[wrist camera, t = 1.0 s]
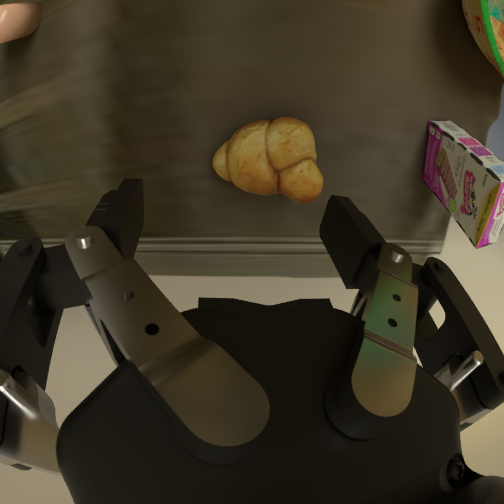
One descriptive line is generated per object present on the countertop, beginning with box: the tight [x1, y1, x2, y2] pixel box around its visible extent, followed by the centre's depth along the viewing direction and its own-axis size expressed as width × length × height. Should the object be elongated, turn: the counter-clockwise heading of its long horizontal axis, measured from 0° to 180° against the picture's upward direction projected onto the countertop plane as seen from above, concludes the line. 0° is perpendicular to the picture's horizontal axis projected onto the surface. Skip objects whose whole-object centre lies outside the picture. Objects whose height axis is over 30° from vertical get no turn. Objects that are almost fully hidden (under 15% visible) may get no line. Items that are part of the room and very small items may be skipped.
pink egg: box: [0, 2, 42, 44], centre depth 13 cm, size 5×5×7 cm
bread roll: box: [212, 116, 323, 203], centre depth 32 cm, size 13×10×8 cm
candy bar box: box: [422, 120, 504, 249], centre depth 30 cm, size 11×5×16 cm, turn 12°
